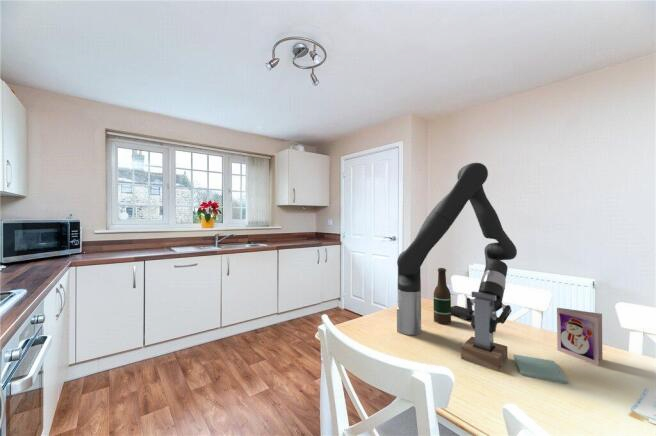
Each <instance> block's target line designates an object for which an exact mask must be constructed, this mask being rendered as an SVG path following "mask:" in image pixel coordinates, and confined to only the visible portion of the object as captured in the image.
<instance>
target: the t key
mask: <svg viewBox="0 0 656 436" xmlns="http://www.w3.org/2000/svg"><path fill="white" fill-rule="evenodd" d="M471 298H473V299H474V305H473V306H474V311H475V329H474V337H475V348H479V349H482V350H485V351H489V352H492V351H493V349H494V346H493V342H494V333H493V334H492V333H490V332H489V328H490V323H491V320H492V311H493V301H496V295H492V294H486V293H480V292H478V291H474V290H473V291H471Z"/></svg>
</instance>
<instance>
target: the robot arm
mask: <svg viewBox="0 0 656 436" xmlns="http://www.w3.org/2000/svg"><path fill="white" fill-rule="evenodd" d="M488 177H489V170H488V168H487V167H486V165H485V164H483V163H482V162H471V163H468V164H466V165H464V166H462V167H461V168H460V169H459V171H458V173H457V181H456V183H455V184H454V186H453V187H452V189H451V190H450V191H449V192H448V193H447V194H446V195H445V196H444V197H443V198H442V199H441V200H440V201H439V202H438V203H437V204H436V205H435V207H434V208H433V209H432V210H431V211H430V213H429V214H428V216H427V217H426V218H425V220H424V222H423V223H422V225H421V227H420V229H419V231H418V232H417V235H416V237H415V238H414V239H413V241H412V243H410V244H409V246H408V247H407V248H406V249H405V250H404V251H401V253H399V255H398V257H397V260H396V261H397V263H396V264H397V308H396V332H398V333H401V334H402V335H403V334H404V335H406V336H417V335H420V334H422V289H421V288H422V281H421V280H422V279H421V267H422V265H423V263H424V262H425V259H427V257H428V255H429V253H430V252H431V250H432V249H433V248H434V247H435V246H436V245H437V244H438V242H439V241H441V239H442V238H443V237H444V235H445V234H446V233H447V232H448V230H449V229H450V228H451V227H452V225H454V223H455V221H456V219H457V218H458V217H459V215H460V214H461V213H462V210H463V209H464V207H466V204H467V203H468V202H470V205H471V207H472V209H473V211H474V214H475V216H476V219H477V222H478V225H479V227H480V230H481V233H482V235H483V237H484V238H485V239H488V240H489V239H491V240H495V241H496V242H491V243H488V244H487V245H486V246H485V247H484V259H485V266H484V271H483V274H482V276H481V279H480V283H479V287H478V291H477V292H480V293H486V294H492V295H496V301H493V311H492V320H491V323H490V328H489V332H490V333H492V334H493V335H494V333H496V330H497V325H498V324H502V325H503V324H505V323H506V320H508V317H509V316H510V315H511V313H512V307H511V305H508V304H507V305H506V304H503V298H504V293H505V289H506V283H507V282H506V279H507V275H508V265H507V264H506V263H505V262H504V261H508V260H513V259H515V258H516V257H517V255H518V254H517V253H518V251H517V247H516V245H515V244H514V242H513V241H512V240H511V238H510V237H509V236H508V234H507V233H506V231H505V230H504V229H503V226H502V223H501V221H500V218H499V216H498V213H497V212H496V210H495V208H494V207H493V205H492V204H491V202H490V200H489V199H488V197H487V195H486V192H485V189H484V186H483V185H484V184H485V182H486V181H487V179H488ZM473 306H474V298H470V297H467V298H466V308H467V311H468V313H469V316H472V321H470V325H471V327H472V329H473V330H475V311H474V312H473ZM499 310H502V312H501V313H500V315H499V316H498V315H497V313H498V311H499Z"/></svg>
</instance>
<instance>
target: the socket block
mask: <svg viewBox="0 0 656 436" xmlns="http://www.w3.org/2000/svg"><path fill="white" fill-rule="evenodd" d="M493 346H494V349H493V351H492V352H489V351H485V350H482V349H479V348H475V336H470V338H468V339H467V340H466V341H465V342H464V343H463V344H462V345H461V346H460V359H461V360H464V361H467V362H469V363H473V364H475V365H478V366H482V367H484V368H487V369H490V370H494V371H496V372H500V371H501V369H502V367H503V366H504V364H505V363H506V361H507V360H508V355H509V354H508V346H507V345H505V344H500V343H497V342H494V341H493Z"/></svg>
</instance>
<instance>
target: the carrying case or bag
mask: <svg viewBox="0 0 656 436" xmlns="http://www.w3.org/2000/svg"><path fill="white" fill-rule="evenodd" d="M472 310H473V309H472ZM473 312H474V310H473ZM453 315H454V317H456V316H457V317H456V318H459V317H460V319H462V320H466V321H468V322H471V321H472V316H469V313H468V311H467V307H463V306H461V305H451V316H453Z"/></svg>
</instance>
